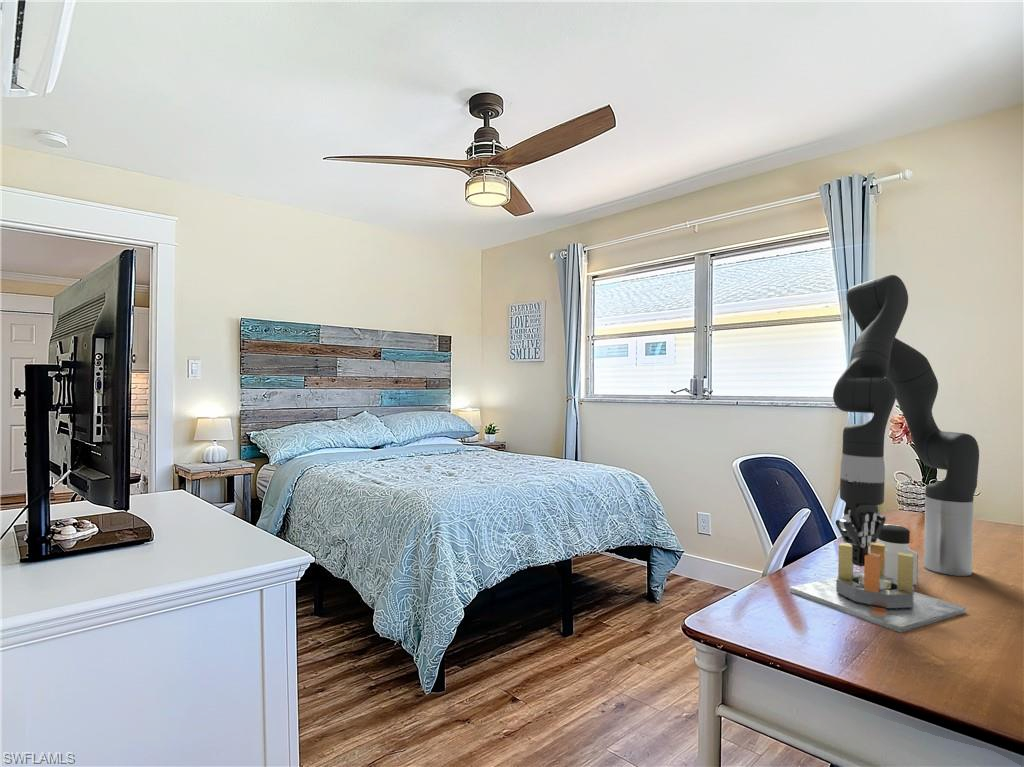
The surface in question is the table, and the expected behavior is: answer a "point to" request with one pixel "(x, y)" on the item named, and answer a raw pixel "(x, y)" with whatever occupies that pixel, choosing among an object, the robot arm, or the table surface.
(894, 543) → the medicine bottle
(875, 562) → the octagonal frame
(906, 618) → the base plate
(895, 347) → the robot arm
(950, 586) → the table surface
